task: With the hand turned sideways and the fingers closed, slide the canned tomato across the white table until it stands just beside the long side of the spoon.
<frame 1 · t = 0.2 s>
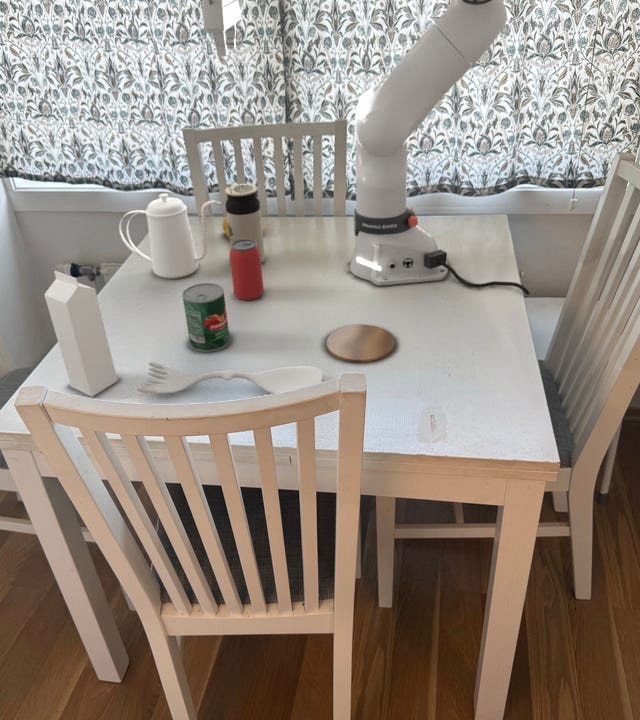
hand: (227, 52, 135), 48 cm above the table, tool pointing down, fingers open, 8 cm apart
canned tomato: (210, 342, 134), on the table
spoon: (234, 389, 120), on the table
beer can: (249, 295, 150), on the table
bagel: (244, 234, 180), on the table
travel mug: (248, 261, 166), on the table
wooden trivet: (360, 344, 130), on the table
coffeepot: (178, 270, 163), on the table
milk: (94, 384, 123), on the table
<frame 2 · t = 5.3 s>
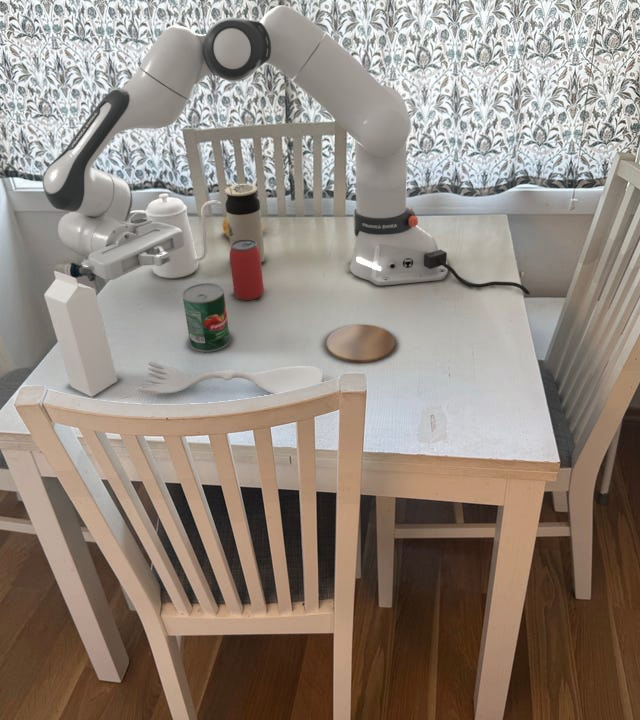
hand: (165, 259, 130), 16 cm above the table, tool horizontal, fingers closed
nothing on the table moved.
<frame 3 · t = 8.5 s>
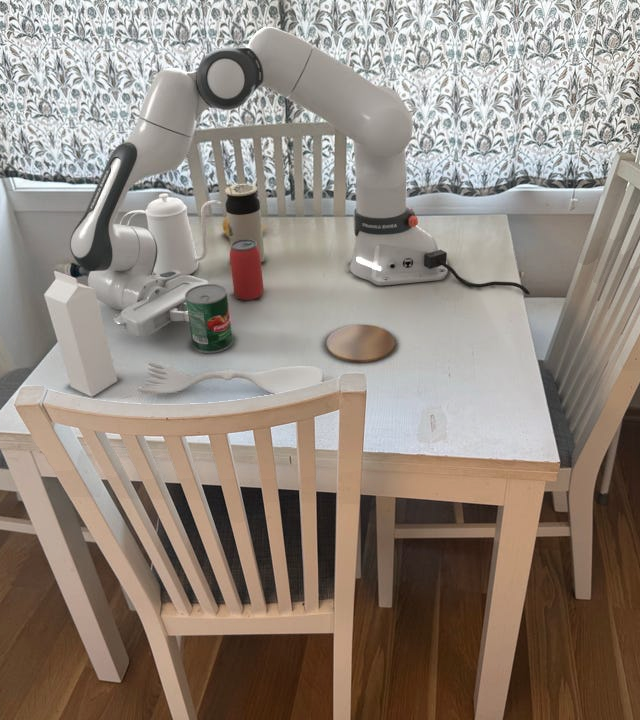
hand: (195, 316, 133), 5 cm above the table, tool horizontal, fingers closed, pressing on canned tomato
canned tomato: (213, 343, 133), on the table, touching gripper
everything else where it was.
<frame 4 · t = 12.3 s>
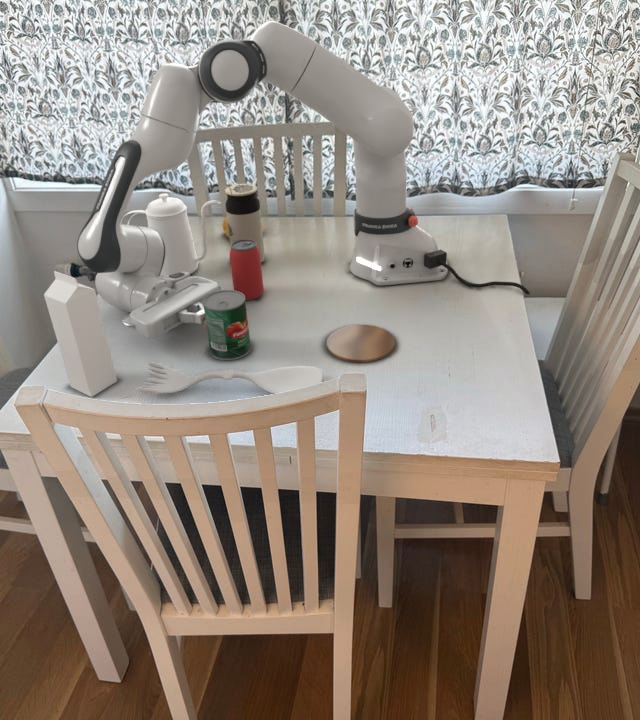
hand: (205, 317, 131), 6 cm above the table, tool horizontal, fingers closed
canned tomato: (230, 350, 131), on the table
everything else where it was.
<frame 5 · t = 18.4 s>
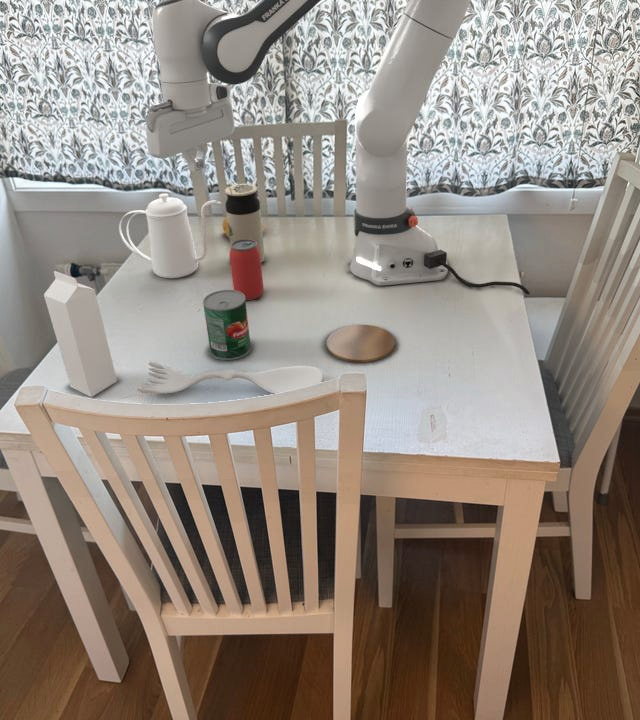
hand: (197, 169, 133), 29 cm above the table, tool pointing down, fingers closed
nothing on the table moved.
at the end: canned tomato inside the target area on the table beside the spoon (3.6 cm from its centre), on the table; canned tomato tilted 0°; spoon moved 0.2 cm from its start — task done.
